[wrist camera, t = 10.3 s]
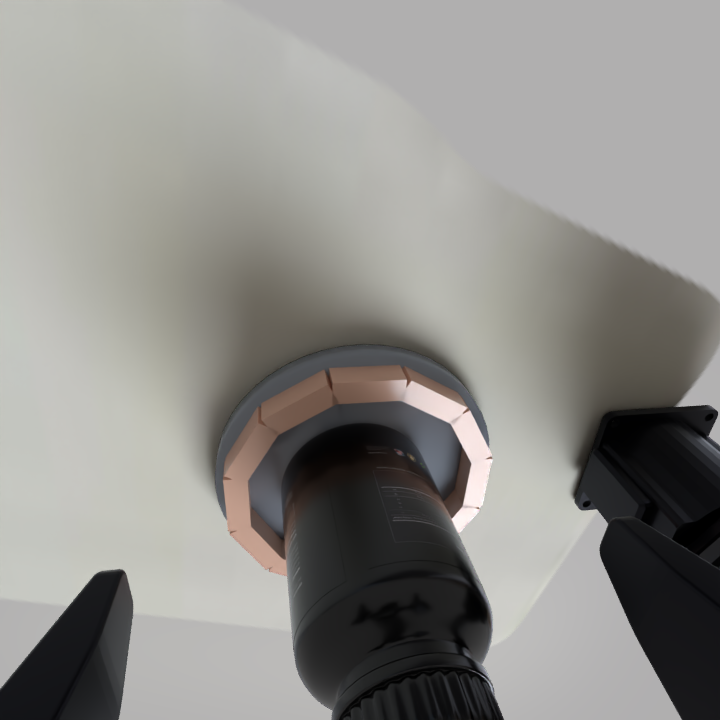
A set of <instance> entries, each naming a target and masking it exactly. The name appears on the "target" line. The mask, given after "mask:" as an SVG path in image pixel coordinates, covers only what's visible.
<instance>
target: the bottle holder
mask: <svg viewBox="0 0 720 720" xmlns="http://www.w3.org/2000/svg"><path fill="white" fill-rule="evenodd" d="M352 423H374V424H380V425H384V426H387V427H390V428H392V429H395V430H397V431H399V432H401V433H402V434H404V435H405V436H406V437H408V438H409V439H410V440H411V441H412V442H413V443H414V444H415V445H416V447H417V448H418V450H419V451H420V453H421V455H422V457H423V459H424V461H425V463H426V465H427V467H428V469H429V471H430V473H431V475H432V477H433V480H434V482H435V484H436V486H437V488H438V490H439V493H440V495H441V497H442V499H443V501H444V504H445V506H446V508H447V510H448V512H449V514H450V517H451V519H452V521H453V523H454V525H455V528H456V530H457V532H458V534H459V533H460V532H461V531H462V530H463V529H464V527H465V526H466V525H467V524H468V523H469V522H470V521H471V520H472V519H473V517H474V516H475V515H476V514H477V513H478V512H479V511H480V509H479V507H482V504H483V500H484V495H485V491H486V486H487V482H488V478H489V473H490V469H491V464H492V460H493V459H492V457H491V456H492V454H491V452H490V450H489V437H488V431H487V426H486V423H485V421H484V418H483V415H482V413H481V411H480V409H479V408H478V406H477V404H476V403H475V401H474V399H473V398H472V396H471V395H470V393H469V392H468V390H467V389H466V388H465V386H464V385H463V384H462V383H461V382H460V380H459V379H458V378H457V377H456V376H455V375H453V374H452V373H451V372H450V371H449V370H448V369H446V368H445V367H443V366H442V365H440V364H439V363H437V362H435V361H434V360H432V359H430V358H428V357H425V356H423V355H421V354H418V353H416V352H412V351H409V350H405V349H402V348H397V347H390V346H384V345H352V346H341V347H337V348H332V349H327V350H323V351H319V352H316V353H313V354H311V355H308V356H305V357H302V358H300V359H298V360H296V361H293V362H291V363H289V364H287V365H285V366H283V367H282V368H280V369H279V370H277V371H275V372H274V373H272V374H271V375H269V376H268V377H266V378H265V379H264V380H263V381H261V382H260V383H259V384H258V385H257V386H255V387H254V388H253V389H252V390H251V391H250V392H249V393H248V394H247V395H246V396H245V397H244V399H243V400H242V401H241V402H240V403H239V405H238V406H237V408H236V409H235V410H234V412H233V413H232V415H231V416H230V418H229V420H228V422H227V424H226V426H225V428H224V430H223V433H222V436H221V439H220V443H219V447H218V454H217V461H216V471H215V485H216V493H217V498H218V502H219V505H220V507H221V510H222V512H223V515H224V516H225V518H226V520H227V524H228V531H230V535H231V536H232V537H233V538H234V539H235V540H236V541H237V542H238V543H239V544H240V545H241V546H242V547H243V548H244V549H245V550H246V551H247V552H248V553H249V554H250V555H251V556H252V557H253V558H254V559H255V560H256V561H257V562H258V563H259V564H261V565H262V566H263V567H264V568H265V569H266V570H267V569H269V572H273V573H276V574H280V575H284V576H287V567H286V555H285V543H284V531H283V518H282V503H281V485H282V479H283V475H284V472H285V470H286V467H287V465H288V464H289V462H290V460H291V459H292V457H293V456H294V455H295V454H296V452H297V451H298V450H299V449H300V448H301V447H302V446H303V445H304V444H305V443H307V442H308V441H309V440H311V439H312V438H313V437H315V436H317V435H318V434H320V433H322V432H324V431H326V430H329V429H331V428H334V427H337V426H341V425H345V424H352Z"/></svg>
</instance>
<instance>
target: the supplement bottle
mask: <svg viewBox="0 0 720 720" xmlns="http://www.w3.org/2000/svg"><path fill="white" fill-rule="evenodd" d="M281 503H282V518H283V531H284V543H285V555H286V567H287V579H288V591H289V603H290V615H291V627H292V639H293V650H294V656H295V663H296V668H297V670H298V674H299V676H300V678H301V680H302V682H303V684H304V685H305V687H306V688H307V689H308V691H309V692H310V693H311V694H312V696H313V697H315V698H316V700H317V701H319V702H320V703H321V704H323V705H324V706H325V707H327V708H329V709H331V710H332V711H333V712H332V720H504V719H503V716H502V713H501V711H500V708H499V706H498V703H497V701H496V699H495V696H494V688H493V685H492V683H491V680H490V678H489V675H488V673H487V671H486V669H485V668H484V667H483V666H482V663H483V661H484V659H485V657H486V655H487V653H488V650H489V647H490V643H491V638H492V631H493V617H492V611H491V607H490V604H489V601H488V598H487V596H486V594H485V591H484V589H483V586H482V584H481V582H480V580H479V578H478V575H477V573H476V571H475V569H474V567H473V565H472V562H471V560H470V558H469V556H468V554H467V551H466V549H465V547H464V545H463V543H462V541H461V538H460V536H459V534H458V532H457V530H456V528H455V525H454V523H453V521H452V519H451V517H450V514H449V512H448V510H447V508H446V506H445V504H444V501H443V499H442V497H441V495H440V493H439V490H438V488H437V486H436V484H435V482H434V480H433V477H432V475H431V473H430V471H429V469H428V467H427V465H426V463H425V461H424V459H423V457H422V455H421V453H420V451H419V450H418V448H417V447H416V445H415V444H414V443H413V442H412V441H411V440H410V439H409V438H408V437H406V436H405V435H404V434H402V433H401V432H399V431H397V430H395V429H392V428H390V427H387V426H384V425H380V424H374V423H352V424H345V425H341V426H337V427H334V428H331V429H329V430H326V431H324V432H322V433H320V434H318V435H317V436H315V437H313V438H312V439H311V440H309V441H308V442H307V443H305V444H304V445H303V446H302V447H301V448H300V449H299V450H298V451H297V452H296V454H295V455H294V456H293V457H292V459H291V460H290V462H289V464H288V465H287V467H286V470H285V472H284V475H283V479H282V485H281Z"/></svg>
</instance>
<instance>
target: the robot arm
mask: <svg viewBox="0 0 720 720" xmlns="http://www.w3.org/2000/svg"><path fill="white" fill-rule="evenodd" d="M717 416H718V412H717V411H716V410H715V409H714V408H712V407H711V406H709V405H702V406H687V407H671V408H656V409H640V410H625V411H612V412H609V413H607V414H606V415H605V416H604V417H603V419H602V421H601V424H600V427H599V430H598V433H597V436H596V439H595V442H594V445H593V448H592V451H591V454H590V456H589V459H588V462H587V465H586V468H585V471H584V474H583V477H582V480H581V483H580V486H579V489H578V492H577V495H576V498H575V504H576V505H577V506H578V508H579V509H580V510H594V509H597V510H598V511H599V512H600V513H601V515H602V516H603V517H604V519H605V520H606V521H607V523H608V527H607V529H606V532H605V534H604V537H603V539H602V542H601V544H600V556H601V559H602V562H603V564H604V566H605V569H606V571H607V573H608V575H609V578H610V580H611V582H612V584H613V587H614V589H615V591H616V593H617V596H618V598H619V600H620V603H621V605H622V607H623V609H624V612H625V614H626V616H627V618H628V621H629V623H630V625H631V627H632V629H633V631H634V633H635V635H636V637H637V639H638V641H639V643H640V645H641V647H642V648H643V650H644V652H645V654H646V656H647V657H648V659H649V661H650V663H651V665H652V667H653V668H654V670H655V672H656V674H657V676H658V677H659V679H660V681H661V683H662V685H663V686H664V688H665V690H666V692H667V694H668V695H669V697H670V699H671V701H672V702H673V704H674V706H675V708H676V710H677V712H678V713H679V715H680V717H681V719H682V720H720V446H719V445H718V444H717V443H716V442H714V441H713V440H712V439H711V438H710V437H708V436H709V433H710V431H711V429H712V427H713V425H714V423H715V420H716V419H717ZM132 618H133V600H132V595H131V591H130V587H129V583H128V579H127V576H126V573H125V571H124V570H121V569H117V570H107V571H101V572H98V573H97V574H95V575H94V576H93V577H92V579H91V580H90V581H89V582H88V583H87V585H86V586H85V587H84V588H83V590H82V591H81V592H80V593H79V594H78V596H77V597H76V598H75V599H74V600H73V602H72V603H71V604H70V605H69V606H68V608H67V609H66V610H65V611H64V613H63V614H62V615H61V616H60V617H59V619H58V620H57V621H56V622H55V623H54V625H53V626H52V627H51V628H50V629H49V631H48V632H47V633H46V634H45V636H44V637H43V638H42V639H41V640H40V642H39V643H38V644H37V645H36V646H35V648H34V649H33V650H32V651H31V652H30V654H29V655H28V656H27V657H26V658H25V660H24V661H23V662H22V664H21V665H20V666H19V667H18V668H17V670H16V671H15V672H14V673H13V674H12V675H11V677H10V678H9V679H8V680H7V682H6V683H5V684H4V685H3V686H2V688H1V689H0V720H118V719H119V715H120V709H121V702H122V696H123V687H124V680H125V672H126V664H127V656H128V649H129V640H130V633H131V625H132Z"/></svg>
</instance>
